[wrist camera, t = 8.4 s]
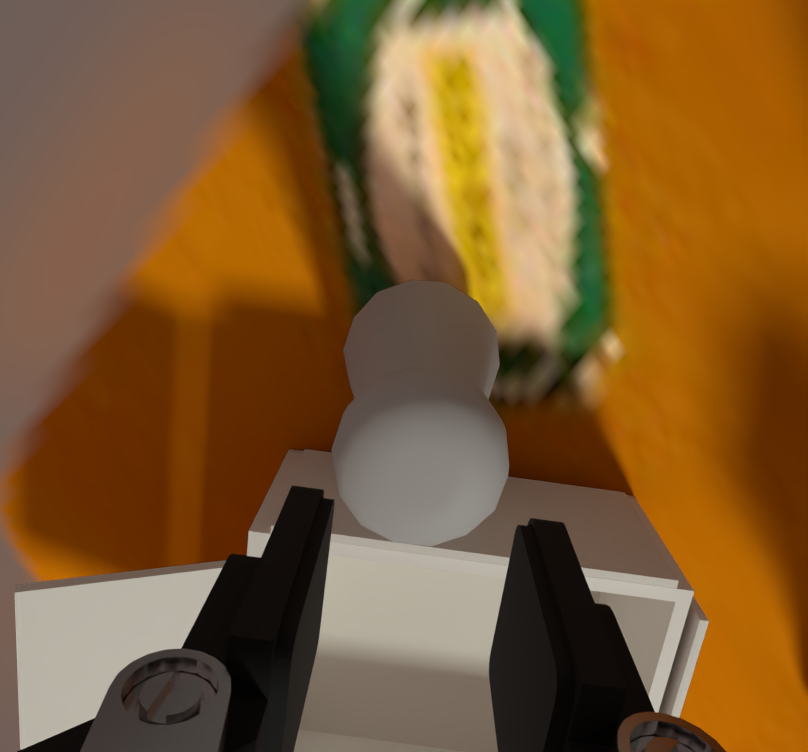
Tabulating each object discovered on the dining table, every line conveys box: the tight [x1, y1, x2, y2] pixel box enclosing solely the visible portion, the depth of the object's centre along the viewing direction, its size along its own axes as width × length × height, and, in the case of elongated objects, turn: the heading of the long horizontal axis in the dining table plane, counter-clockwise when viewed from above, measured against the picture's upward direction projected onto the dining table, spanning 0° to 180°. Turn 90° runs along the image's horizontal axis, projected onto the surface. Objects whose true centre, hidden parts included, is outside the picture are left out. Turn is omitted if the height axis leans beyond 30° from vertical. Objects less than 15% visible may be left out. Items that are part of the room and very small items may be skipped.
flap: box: [15, 560, 226, 750], centre depth 23 cm, size 13×6×1 cm, turn 172°
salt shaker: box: [331, 280, 509, 546], centre depth 22 cm, size 6×6×13 cm
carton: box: [247, 449, 709, 752], centre depth 28 cm, size 16×16×7 cm
